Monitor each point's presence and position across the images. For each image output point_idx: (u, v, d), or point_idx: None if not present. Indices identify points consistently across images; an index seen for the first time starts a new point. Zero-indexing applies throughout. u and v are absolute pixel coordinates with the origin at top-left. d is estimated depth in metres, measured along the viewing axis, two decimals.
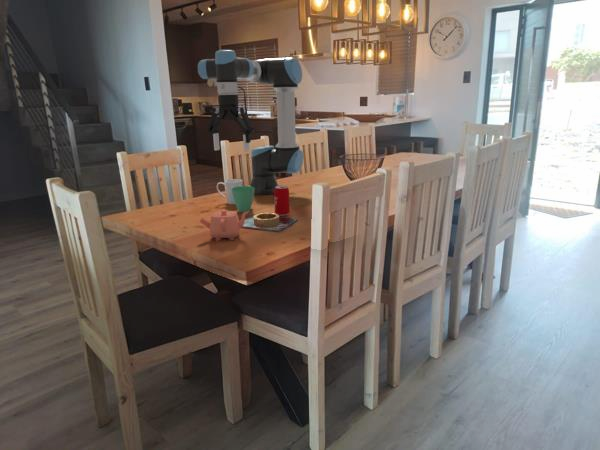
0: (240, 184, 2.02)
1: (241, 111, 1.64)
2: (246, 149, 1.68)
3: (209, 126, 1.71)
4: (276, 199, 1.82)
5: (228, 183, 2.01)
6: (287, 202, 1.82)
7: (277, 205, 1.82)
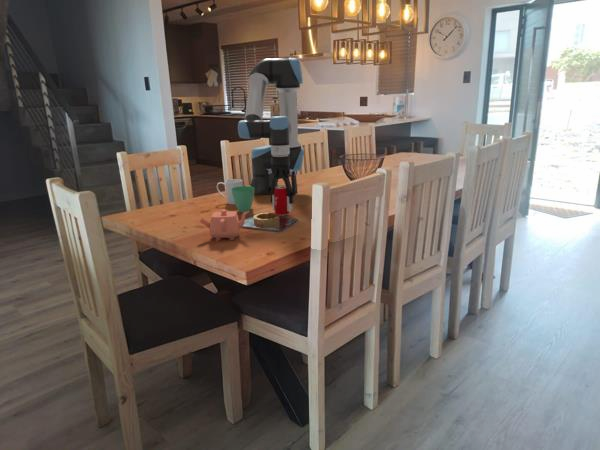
0: (240, 184, 2.02)
1: (292, 174, 1.77)
2: (289, 209, 1.83)
3: (267, 187, 1.84)
4: (276, 199, 1.82)
5: (228, 183, 2.01)
6: None
7: (277, 205, 1.82)
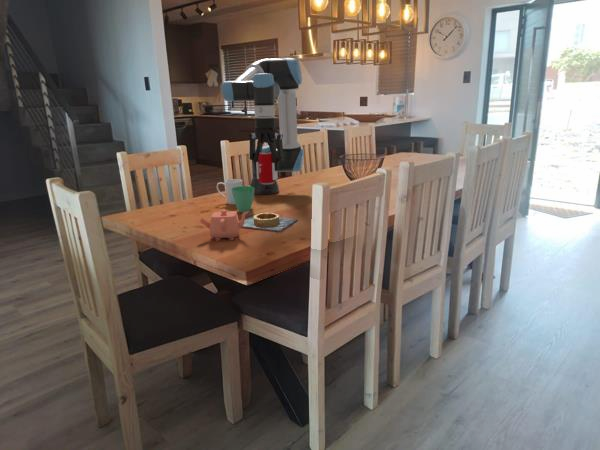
0: (240, 184, 2.02)
1: (278, 138, 1.62)
2: (275, 177, 1.67)
3: (251, 153, 1.68)
4: (260, 166, 1.66)
5: (228, 183, 2.01)
6: None
7: (261, 173, 1.66)
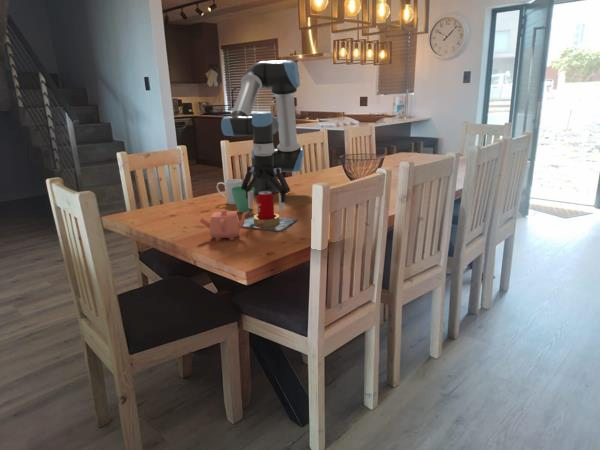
0: (240, 184, 2.02)
1: (277, 172, 1.64)
2: (281, 208, 1.68)
3: (244, 184, 1.71)
4: (259, 206, 1.69)
5: (228, 183, 2.01)
6: (271, 209, 1.70)
7: (261, 212, 1.70)
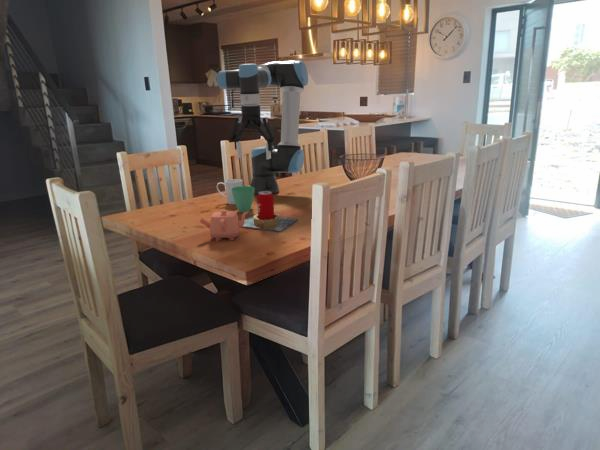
0: (240, 184, 2.02)
1: (264, 121, 1.73)
2: (268, 157, 1.78)
3: (232, 135, 1.81)
4: (259, 206, 1.69)
5: (228, 183, 2.01)
6: (271, 209, 1.70)
7: (260, 212, 1.70)
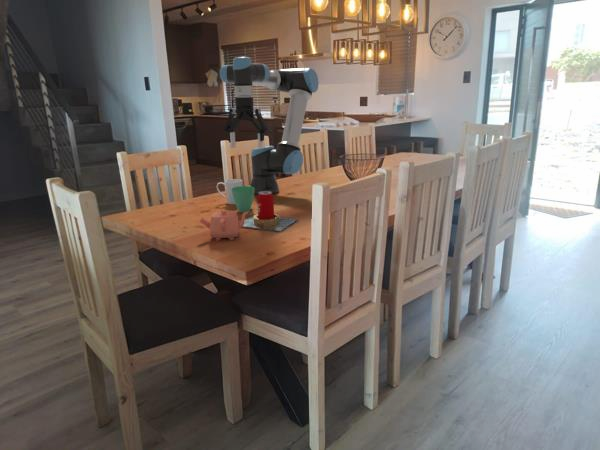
0: (240, 184, 2.02)
1: (256, 112, 1.80)
2: (260, 147, 1.85)
3: (226, 126, 1.88)
4: (259, 206, 1.69)
5: (228, 183, 2.01)
6: (271, 209, 1.70)
7: (261, 212, 1.70)
